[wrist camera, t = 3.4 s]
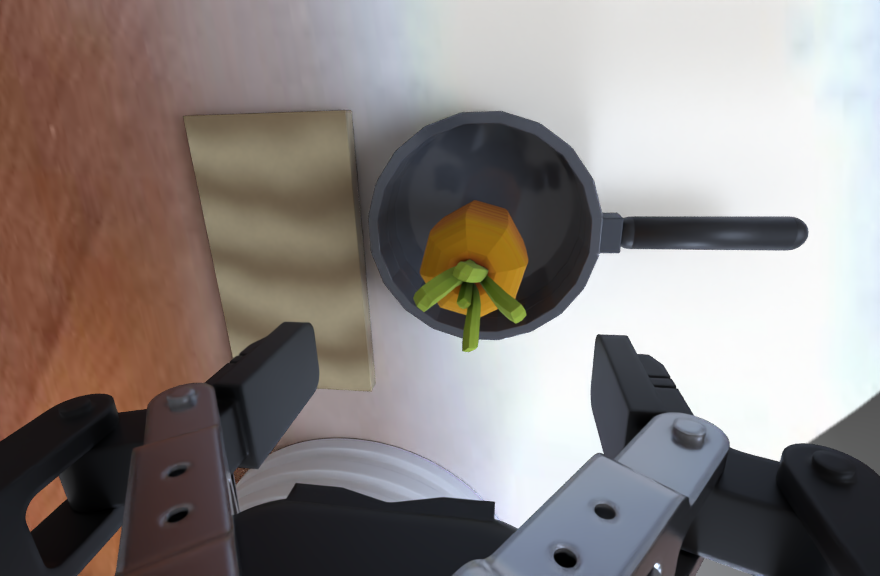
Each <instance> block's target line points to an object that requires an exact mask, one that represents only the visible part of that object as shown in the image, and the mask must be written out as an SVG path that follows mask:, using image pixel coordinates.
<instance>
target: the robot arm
mask: <svg viewBox="0 0 880 576" xmlns="http://www.w3.org/2000/svg"><path fill="white" fill-rule="evenodd" d="M318 382H319V363H318V356H317V348H316V341H315V333H314V328H313V326H312V324H311V323H309V322H283V323H282V324H280V325H279V326H278V327H277V328H276V329H275V330H273V331H272V332H271V333H270V334H269V335H268V336H267V337H264V338H262V339H260V340H258V341H256V342H254V343H252V344H250V345H249V346H247V347H246V348H245V349H244V350H243V351H241V352H240V353H239V356H236V357H234V358H233V359H232V360H231V361H230V363H227V364H226V365H225V366H224V367H223V368H221V369H220V370H219V371H218V372H217V373H215V374H214V375H213V376H212V377H211V378H210V379H208V380H207V381H206V382H205V383H189V384H184V385H179V386H176V387H173V388H170V389H168V390H166V391H164V392H162V393H160V394H159V395H157V396H156V397H154V398H153V399H152V400H151V401H150V402H149V404H148V407H147V409H144V410H136V411H128V412H120V413H118V412H117V409H116V406H115V402H114V399H113V397H112V396H110V395H107V394H90V395H84V396H80V397H76V398H73V399H70V400H67V401H65V402H62V403H60V404H58V405H56V406H54V407H52V408H51V409H49V410H47V411H46V412H44V413H43V414H41V415H40V416H38V417H37V418H35V419H34V420H32V421H31V422H29V423H28V424H26V425H25V426H23V427H22V428H20V429H19V430H17V431H16V432H14V433H13V434H11V435H10V436H8V437H7V438H5V439H4V440H2V441H1V442H0V576H77V575H78V574H79V573H80V572H81V571H82V570H83V569H84V567H85V566H86V565H87V564H88V563H89V562H90V561H91V560H92V558H93V557H94V556H95V555H96V554H97V553H98V552H99V551H100V550H101V548H102V547H103V546H104V545H105V544H106V543H107V542H108V541H109V540H110V538H111V537H112V536H113V535H114V534H115V533H116V532H117V531H118V529H119V528H120V527H121V526H122V530H121V538H120V545H119V553H118V560H117V568H116V573H115V576H695V575H696V573H697V571H698V570H699V568H700V566H701V564H702V562H703V560H704V558H707V559H709V560H713V561H715V562H718V563H721V564H723V565H726V566H729V567H732V568H734V569H737V570H740V571H743V572H746V573H748V574H751V575H753V576H880V476H879V475H878V474H877V473H875V471H874V470H872V469H871V468H870V467H868V466H867V465H865V464H864V463H863V462H861V461H859V460H858V459H856V458H854V457H852V456H850V455H848V454H845V453H843V452H840V451H838V450H835V449H831V448H828V447H825V446H820V445H815V444H805V443H801V444H793V445H790V446H788V447H786V448H785V449H784V451H783V452H782V456H781V460H780V462H778V461H774V460H770V459H766V458H762V457H759V456H755V455H751V454H747V453H744V452H740V451H738V450H735V449H732V448H730V443H729V439H728V438H727V436H726V435H725V433H724V432H723V431H722V430H721V429H719V428H718V427H717V426H715V425H714V424H712V423H710V422H709V421H707V420H704V419H702V418H699V417H696V416H694V415H693V413H692V411H691V410H690V408H689V407H688V405H687V403H686V402H685V400H684V398H683V397H682V395H681V393H680V392H679V390H678V389H676V385H675V384H674V382H673V380H672V379H670V375H669V374H668V372H667V370H666V369H665V367H664V365H662V364H661V363H660V362H658V361H657V360H655V359H654V358H653V357H651V356H650V355H645V354H637V353H636V351H635V349H634V347H633V345H632V344H631V342H630V340H629V338H628V336H625V335H600V334H598V335H597V337H596V341H595V349H594V359H593V370H592V380H591V406H592V411H593V415H594V419H595V423H596V426H597V430H598V434H599V437H600V441H601V445H602V449H603V452H604V454H602V453H597V454H595V455H594V456H593V457H591V458H590V459H589V460H588V461H587V462H586V463H585V464H584V465H583V466H582V467H581V468H580V469H579V470H578V471H577V472H576V473H575V474H574V475H573V476H572V477H571V478H570V479H569V480H568V481H567V482H566V483H565V484H564V485H563V486H562V487H561V488H560V489H559V490H558V491H557V492H555V493H554V494H553V495H552V496H551V497H550V498H549V499H548V500H547V501H546V502H545V503H544V504H543V505H542V506H541V507H540V508H539V509H538V510H537V511H536V512H535V513H534V514H533V515H532V516H531V517H530V518H529V519H528V520H527V521H526V522H525V523H524V524H523V525H522V526H521V527H520V528H519V529H517V528H515V527H513V526H511V525H509V524H507V523H505V522H502V521H499V520H496V519H494V516H495V502H491V501H481V500H470V499H460V498H449V497H438V498H429V499H419V500H410V501H400V502H385V501H382V500H379V499H376V498H373V497H370V496H367V495H364V494H361V493H358V492H355V491H352V490H349V489H346V488H343V487H334V486H323V485H313V484H302V483H295V485H294V487H293V488H292V490H291V491H290V493H289V495H288V496H287V498H286V499H280V500H275V501H270V502H266V503H263V504H260V505H257V506H254V507H251V508H249V509H246V510H244V511H242V512H240V507H239V501H238V495H237V489H236V483H235V479H234V474H233V472H234V471H235V470H236V469H237V467H239V468H249V469H259V467H260V466H261V465H262V463H263V462H264V460H265V459H266V458H267V456H268V455H269V454H270V452H271V451H272V450H273V448H274V447H275V446H276V444H277V443H278V441H279V440H280V439H281V437H282V436H283V435H284V433H285V432H286V431H287V429H288V428H289V426H290V425H291V424H292V422H293V421H294V420H295V418H296V417H297V416H298V414H299V413H300V412H301V410H302V409H303V407H304V406H305V405H306V403H307V402H308V401H309V399H310V398H311V397H312V395H313V394H314V392H315V391H316V389H317V386H318ZM58 476H59V478H60V480H61V483H62V486H63V488H64V491H65V494H66V496H67V500H65V501H64V502H63V503H62V504H61V505H60V506H59V507H58V508H57V509H56V510H54V511H53V512H52V513H51V514H50V515H49V516H48V517H47V518H46V519H44V520H43V521H42V522H41V523H40V524H39V525H38V526H37V527H36V528H35V529H33V530H32V531H31V532H30V531H29V528H28V526H27V524H26V519H25V516H26V510H27V508H28V505H29V503H30V502H31V500H32V499H33V498H34V496H35V495H36V494H37V493H38V492H40V491H41V490H42V489H43V488H44V487H46V486H47V485H48V484H49V483H50V482H52V481H53V480H54V479H55V478H56V477H58Z"/></svg>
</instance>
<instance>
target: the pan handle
mask: <svg viewBox="0 0 880 576" xmlns="http://www.w3.org/2000/svg"><path fill="white" fill-rule="evenodd" d="M602 215H603V217H602V218H603V223H602V234H601V245H600V253H620V247H623V248H626V249H693V250H793V249H796V248H798V247H800V246H801V245H802V244H803V243H804V242H805V241H806V239H807V237H808V228H807V226H806V224H805V223H804V222H803V221H802V220H800V219H798V218H795V217H626V218H622V217H621V216H620V215H619V214H618V213H602Z"/></svg>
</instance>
